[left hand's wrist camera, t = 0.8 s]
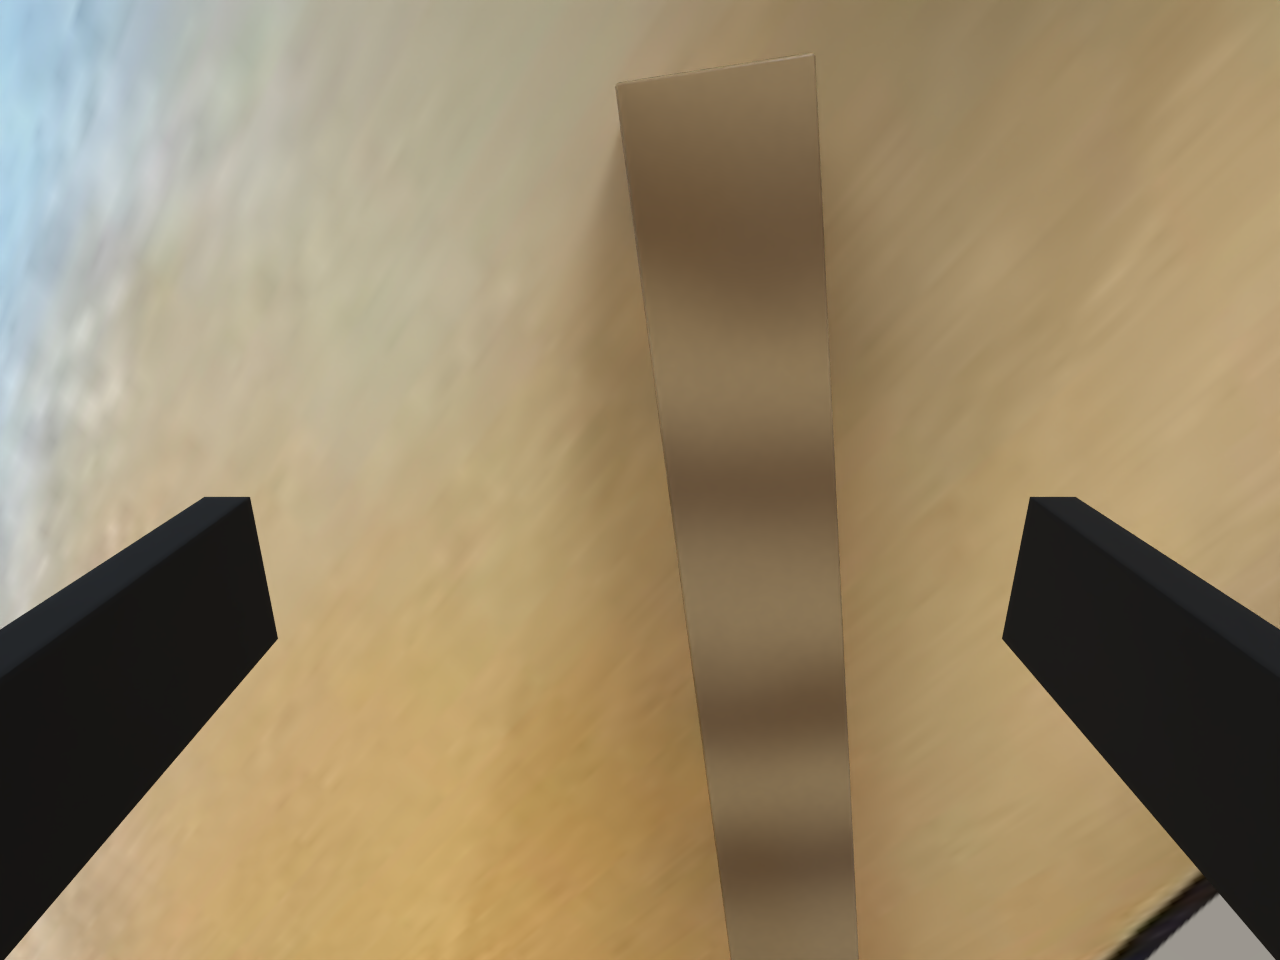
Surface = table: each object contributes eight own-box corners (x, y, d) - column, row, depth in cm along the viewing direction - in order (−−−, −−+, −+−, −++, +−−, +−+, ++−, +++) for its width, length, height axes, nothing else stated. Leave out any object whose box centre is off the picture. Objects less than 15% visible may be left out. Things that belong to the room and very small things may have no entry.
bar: (621, 118, 25) (614, 82, 18) (767, 96, 25) (815, 51, 18) (773, 1271, 49) (794, 1442, 42) (848, 1266, 49) (881, 1436, 42)
